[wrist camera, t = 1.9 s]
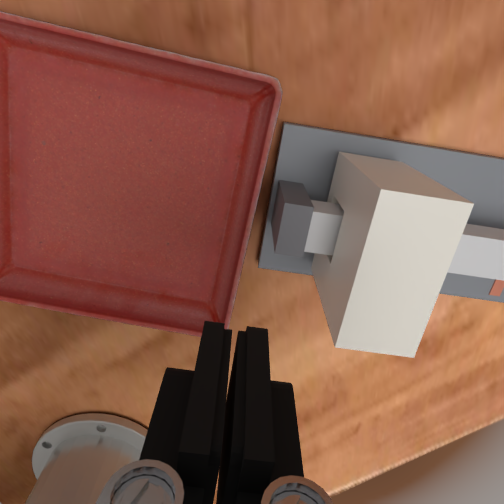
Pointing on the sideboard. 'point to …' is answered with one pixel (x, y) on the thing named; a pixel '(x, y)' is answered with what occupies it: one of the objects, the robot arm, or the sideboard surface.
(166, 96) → the plant saucer
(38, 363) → the sideboard surface
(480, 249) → the gray slide rail base
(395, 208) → the white sliding block
